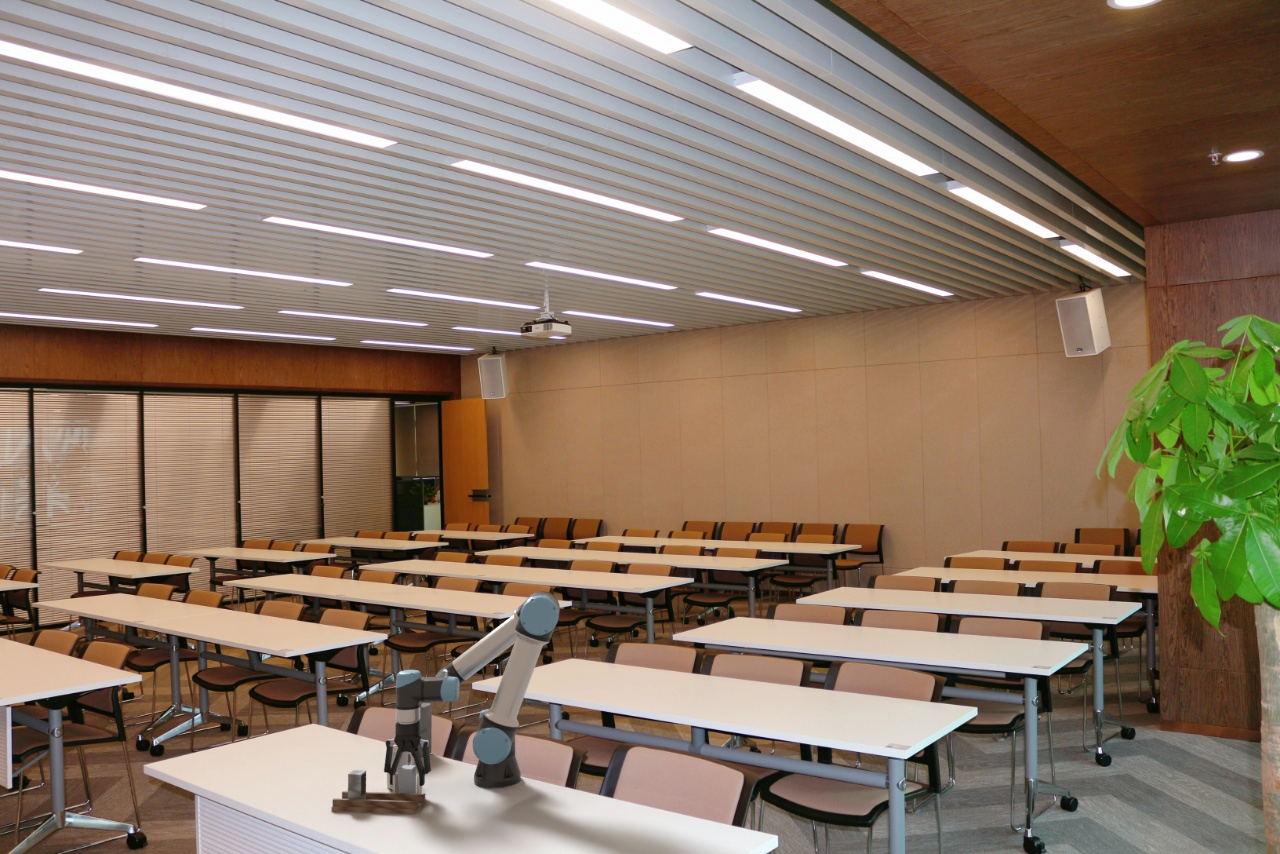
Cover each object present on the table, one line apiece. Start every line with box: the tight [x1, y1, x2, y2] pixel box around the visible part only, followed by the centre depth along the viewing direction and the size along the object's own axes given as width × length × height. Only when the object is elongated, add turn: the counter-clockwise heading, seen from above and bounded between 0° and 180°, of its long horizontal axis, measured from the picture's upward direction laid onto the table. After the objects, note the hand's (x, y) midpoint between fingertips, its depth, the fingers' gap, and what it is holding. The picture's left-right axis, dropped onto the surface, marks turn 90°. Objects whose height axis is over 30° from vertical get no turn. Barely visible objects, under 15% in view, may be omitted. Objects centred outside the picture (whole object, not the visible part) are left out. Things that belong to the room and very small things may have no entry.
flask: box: [408, 702, 433, 763], centre depth 340 cm, size 15×6×20 cm, turn 152°
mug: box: [386, 745, 415, 790], centre depth 309 cm, size 10×7×12 cm, turn 141°
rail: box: [331, 769, 427, 815], centre depth 288 cm, size 26×9×10 cm, turn 83°
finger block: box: [398, 764, 417, 794], centre depth 298 cm, size 4×4×9 cm
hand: (407, 795), depth 298 cm, fingers open, 7 cm apart
